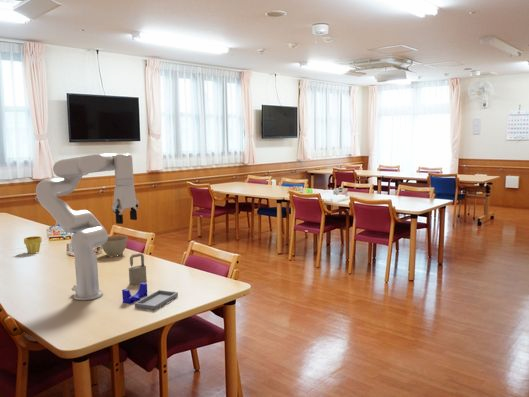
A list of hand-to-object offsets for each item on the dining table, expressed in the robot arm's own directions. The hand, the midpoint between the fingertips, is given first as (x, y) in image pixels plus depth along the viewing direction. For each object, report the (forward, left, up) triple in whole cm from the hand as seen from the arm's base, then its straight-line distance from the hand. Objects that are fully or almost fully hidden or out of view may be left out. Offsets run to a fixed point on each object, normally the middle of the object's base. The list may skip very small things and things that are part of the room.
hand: (126, 221), depth 196 cm
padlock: (-14, +24, -37) cm, 46 cm away
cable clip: (0, +4, -37) cm, 37 cm away
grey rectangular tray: (+11, +4, -37) cm, 38 cm away
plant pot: (-119, +55, -37) cm, 136 cm away
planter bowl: (-63, +66, -37) cm, 98 cm away
